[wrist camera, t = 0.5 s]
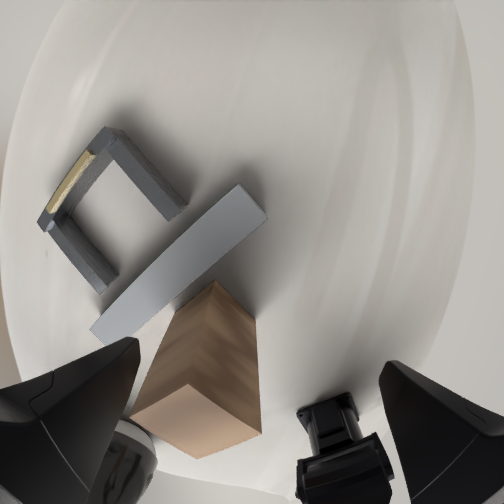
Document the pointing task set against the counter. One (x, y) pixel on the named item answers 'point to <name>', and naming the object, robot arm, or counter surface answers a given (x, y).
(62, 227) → the keeper
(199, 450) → the block
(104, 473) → the dark grey egg shape
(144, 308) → the door edge
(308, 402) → the counter surface
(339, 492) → the robot arm
